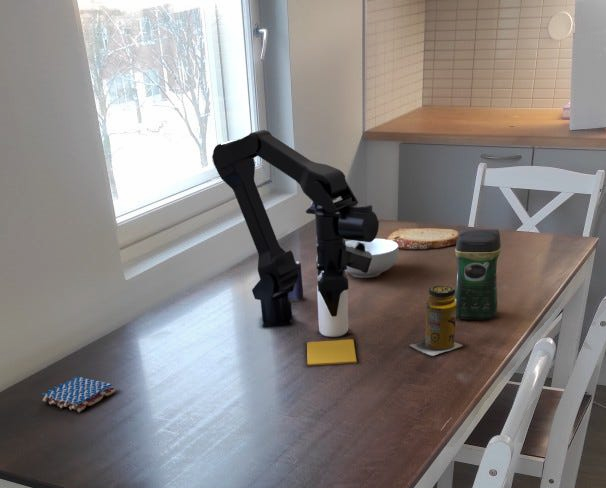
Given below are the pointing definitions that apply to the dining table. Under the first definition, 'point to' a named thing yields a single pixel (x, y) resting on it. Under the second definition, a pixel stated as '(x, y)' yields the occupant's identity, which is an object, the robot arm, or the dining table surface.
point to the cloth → (331, 352)
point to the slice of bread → (424, 238)
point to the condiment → (439, 321)
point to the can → (333, 317)
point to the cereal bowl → (376, 257)
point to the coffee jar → (477, 273)
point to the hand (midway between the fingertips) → (333, 311)
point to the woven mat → (78, 393)
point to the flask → (297, 286)
